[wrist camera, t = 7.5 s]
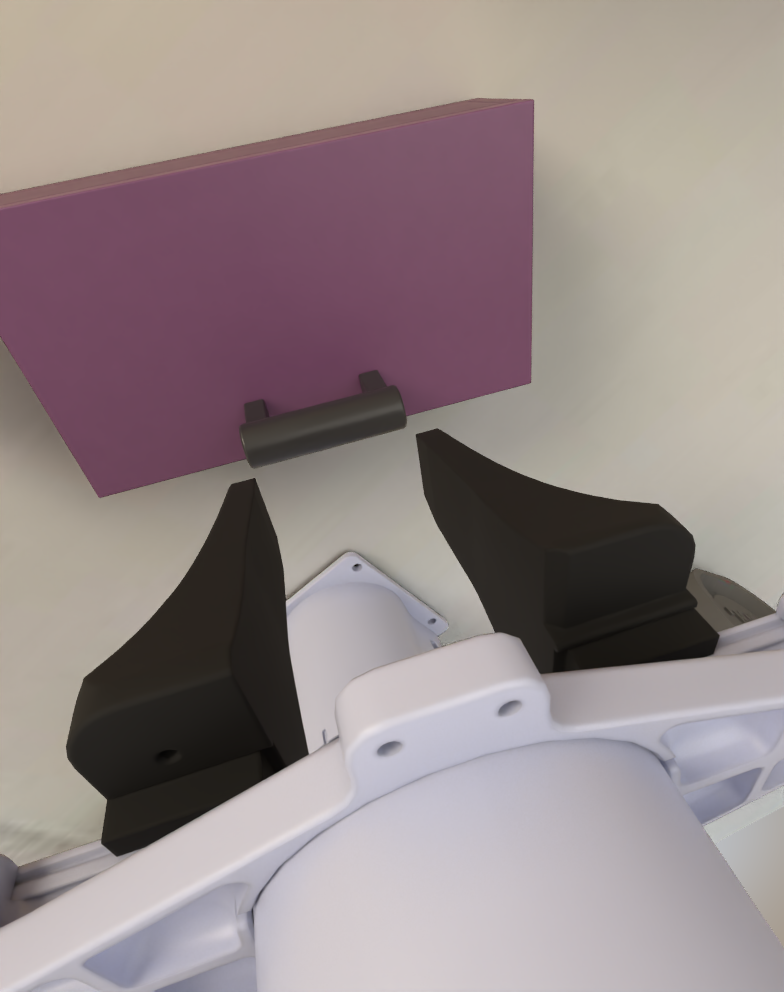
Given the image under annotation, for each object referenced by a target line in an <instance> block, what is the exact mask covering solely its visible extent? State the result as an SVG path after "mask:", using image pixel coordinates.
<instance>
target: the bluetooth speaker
mask: <svg viewBox="0 0 784 992" xmlns="http://www.w3.org/2000/svg"><path fill="white" fill-rule="evenodd" d="M686 589H687V590H688V591H689V592H690V593H691V594H692V595H693V596H694V597H695V598H696V600H697V602H698V604H697V607H696V608H695V609H696V610H697V612H698V613H699V614H700V615H701V616H702V617H703V618H704V619H705V620H706V621H707V622H708V623H709V624H710V625H711V627H712V628H713V629H714V630H715V631H716V632H720V631H723V630H726V629H729V628H732V627H735V626H738V625H741V624H744V623H747V622H750V621H753V620H756V619H759V618H762V617H765V616H768V615H771V614H774V613H776V611H775V610H774V609H772V608H771V607H770V606H769V605H767V604H766V603H765V602H763V601H762V600H761V599H759V598H758V597H757V596H755V595H754V594H752V593H751V592H749V591H748V590H746V589H745V588H743V587H742V586H740V585H739V584H737V583H735V582H734V581H732V580H730V579H728V578H726V577H723V576H720V575H716V574H713V573H710V572H706V571H703V570H700V569H697V568H696V569H694V570H693V571H692V572H690V575H689V579H688V582H687V586H686Z"/></svg>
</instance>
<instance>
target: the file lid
mask: <svg viewBox="0 0 784 992" xmlns="http://www.w3.org/2000/svg"><path fill="white" fill-rule="evenodd" d="M533 151H534V100H533V99H523V100H518V101H513V102H508V103H503V104H498V105H493V106H488V107H483V108H478V109H473V110H469V111H464V112H459V113H454V114H449V115H444V116H439V117H434V118H429V119H424V120H419V121H414V122H410V123H405V124H400V125H395V126H390V127H385V128H380V129H375V130H370V131H365V132H360V133H356V134H351V135H346V136H341V137H336V138H331V139H326V140H321V141H316V142H311V143H306V144H302V145H297V146H292V147H287V148H282V149H277V150H272V151H267V152H262V153H257V154H252V155H248V156H243V157H238V158H233V159H228V160H223V161H218V162H213V163H208V164H203V165H198V166H194V167H189V168H184V169H179V170H174V171H169V172H164V173H159V174H154V175H149V176H144V177H139V178H135V179H130V180H125V181H120V182H115V183H110V184H105V185H100V186H95V187H90V188H85V189H81V190H76V191H71V192H66V193H61V194H56V195H51V196H46V197H41V198H36V199H31V200H27V201H22V202H17V203H12V204H7V205H2V206H0V337H1V338H2V340H3V341H4V343H5V345H6V346H7V348H8V350H9V351H10V353H11V355H12V356H13V358H14V359H15V361H16V363H17V364H18V366H19V368H20V369H21V371H22V373H23V374H24V376H25V377H26V379H27V381H28V382H29V384H30V386H31V387H32V389H33V391H34V392H35V394H36V395H37V397H38V399H39V400H40V402H41V404H42V405H43V407H44V409H45V410H46V412H47V413H48V415H49V417H50V418H51V420H52V422H53V423H54V425H55V427H56V428H57V430H58V431H59V433H60V435H61V436H62V438H63V440H64V441H65V443H66V445H67V446H68V448H69V449H70V451H71V453H72V454H73V456H74V458H75V459H76V461H77V463H78V464H79V466H80V467H81V469H82V471H83V472H84V474H85V476H86V477H87V479H88V481H89V482H90V484H91V485H92V487H93V489H94V490H95V492H96V494H97V495H98V497H99V498H101V497H105V496H109V495H112V494H116V493H120V492H124V491H127V490H131V489H135V488H139V487H142V486H146V485H150V484H154V483H157V482H161V481H165V480H169V479H172V478H176V477H180V476H184V475H187V474H191V473H195V472H199V471H202V470H206V469H210V468H214V467H217V466H221V465H225V464H229V463H232V462H236V461H240V460H244V459H247V461H248V463H249V465H250V466H251V468H258V467H262V466H266V465H270V464H273V463H277V462H281V461H284V460H288V459H292V458H296V457H299V456H303V455H307V454H311V453H314V452H318V451H322V450H325V449H329V448H333V447H337V446H340V445H344V444H348V443H351V442H355V441H359V440H363V439H366V438H370V437H374V436H377V435H381V434H385V433H389V432H392V431H396V430H400V429H403V428H405V427H406V423H407V419H406V416H409V415H412V414H416V413H420V412H424V411H427V410H431V409H435V408H439V407H443V406H446V405H450V404H454V403H458V402H461V401H465V400H469V399H473V398H476V397H480V396H484V395H488V394H491V393H495V392H499V391H503V390H506V389H510V388H514V387H518V386H521V385H525V384H529V383H531V343H532V247H533Z"/></svg>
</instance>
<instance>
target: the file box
mask: <svg viewBox="0 0 784 992" xmlns="http://www.w3.org/2000/svg"><path fill="white" fill-rule="evenodd" d="M518 100H522V99H487V98H475V99H471V100H466V101H461V102H456V103H451V104H446V105H441V106H436V107H431V108H426V109H421V110H416V111H411V112H406V113H401V114H396V115H391V116H386V117H381V118H376V119H371V120H366V121H361V122H356V123H351V124H346V125H341V126H336V127H331V128H326V129H322V130H317V131H312V132H307V133H302V134H297V135H292V136H287V137H282V138H277V139H272V140H267V141H262V142H257V143H252V144H247V145H242V146H237V147H232V148H227V149H222V150H217V151H212V152H207V153H202V154H197V155H192V156H187V157H182V158H177V159H172V160H168V161H163V162H158V163H153V164H148V165H143V166H138V167H133V168H128V169H123V170H118V171H113V172H108V173H103V174H98V175H93V176H88V177H83V178H78V179H73V180H68V181H63V182H58V183H53V184H48V185H43V186H38V187H33V188H28V189H23V190H19V191H14V192H9V193H4V194H0V206H2V205H7V204H12V203H17V202H22V201H27V200H31V199H36V198H41V197H46V196H51V195H56V194H61V193H66V192H71V191H76V190H81V189H85V188H90V187H95V186H100V185H105V184H110V183H115V182H120V181H125V180H130V179H135V178H139V177H144V176H149V175H154V174H159V173H164V172H169V171H174V170H179V169H184V168H189V167H194V166H198V165H203V164H208V163H213V162H218V161H223V160H228V159H233V158H238V157H243V156H248V155H252V154H257V153H262V152H267V151H272V150H277V149H282V148H287V147H292V146H297V145H302V144H306V143H311V142H316V141H321V140H326V139H331V138H336V137H341V136H346V135H351V134H356V133H360V132H365V131H370V130H375V129H380V128H385V127H390V126H395V125H400V124H405V123H410V122H414V121H419V120H424V119H429V118H434V117H439V116H444V115H449V114H454V113H459V112H464V111H469V110H473V109H478V108H483V107H488V106H493V105H498V104H503V103H508V102H513V101H518Z"/></svg>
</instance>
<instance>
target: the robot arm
mask: <svg viewBox="0 0 784 992" xmlns="http://www.w3.org/2000/svg"><path fill="white" fill-rule="evenodd" d="M416 440H417V447H418V454H419V461H420V468H421V475H422V482H423V489H424V495H425V498H426V500H427V502H428V505H429V507H430V510H431V512H432V514H433V517H434V519H435V521H436V524H437V525H438V527H439V529H440V531H441V532H442V534H443V536H444V537H445V539H446V541H447V543H448V544H449V546H450V548H451V549H452V551H453V553H454V554H455V556H456V558H457V559H458V561H459V563H460V564H461V566H462V568H463V569H464V571H465V573H466V574H467V576H468V578H469V579H470V581H471V583H472V584H473V586H474V588H475V590H476V592H477V594H478V596H479V598H480V600H481V602H482V604H483V607H484V609H485V611H486V613H487V615H488V618H489V620H490V622H491V624H492V626H493V629H494V631H495V633H490V634H483V635H477V636H474V637H471V638H467V639H464V640H461V641H458V642H455V643H452V644H449V645H445V646H442V645H441V643H440V641H439V638H438V636H439V635H441V634H442V633H443V632H445V631H446V630H447V628H448V623H447V621H446V619H445V618H443V617H442V616H440V615H439V614H438V613H436V612H435V611H434V610H432V609H431V608H430V607H428V606H427V605H426V604H424V603H423V602H422V601H420V600H419V599H418V598H416V597H415V596H414V595H412V594H411V593H409V592H408V591H407V590H405V589H404V588H403V587H401V586H400V585H399V584H397V583H396V582H395V581H393V580H392V579H391V578H389V577H388V576H387V575H385V574H384V573H383V572H381V571H380V570H378V569H377V568H376V567H374V566H373V565H372V564H370V563H369V562H368V561H366V560H365V559H364V558H362V557H361V556H360V555H358V554H357V553H355V552H347V553H345V554H343V555H342V556H341V557H340V558H338V559H337V560H336V561H335V562H334V563H332V564H331V565H330V566H329V567H327V568H326V569H325V570H324V571H323V572H321V573H320V574H319V575H318V576H316V577H315V578H314V579H313V580H311V581H310V582H309V583H308V584H307V585H305V586H304V587H303V588H302V589H300V590H299V591H298V592H297V593H296V594H294V595H293V596H292V597H291V598H289V599H288V600H287V601H286V598H285V583H284V570H283V564H282V559H281V554H280V549H279V544H278V539H277V536H276V533H275V530H274V528H273V525H272V522H271V520H270V517H269V514H268V512H267V509H266V506H265V504H264V501H263V498H262V496H261V493H260V490H259V488H258V485H257V482H256V479H255V478H253V479H249V480H246V481H242V482H238V483H235V484H231V486H230V487H229V489H228V492H227V494H226V497H225V499H224V502H223V504H222V507H221V509H220V512H219V514H218V516H217V519H216V521H215V523H214V525H213V527H212V529H211V531H210V533H209V535H208V537H207V539H206V541H205V543H204V545H203V547H202V548H201V550H200V552H199V554H198V556H197V557H196V559H195V561H194V563H193V564H192V566H191V567H190V569H189V571H188V572H187V574H186V575H185V577H184V578H183V580H182V581H181V582H180V584H179V585H178V587H177V588H176V589H175V590H174V592H173V593H172V594H171V595H170V596H169V598H168V599H167V600H166V601H165V602H164V604H163V605H162V606H161V607H160V608H159V609H158V611H157V612H156V613H155V614H154V615H153V616H152V617H151V619H150V620H149V621H148V622H147V623H146V624H145V625H144V626H143V627H142V628H141V629H140V630H139V631H138V632H137V633H136V634H135V635H134V636H133V637H132V638H131V639H130V640H128V641H127V642H126V643H125V644H124V645H123V646H122V647H121V648H120V649H119V650H118V651H116V652H115V653H114V654H113V655H112V656H110V657H109V658H108V659H107V660H106V661H104V662H103V663H102V664H101V665H100V666H98V667H97V668H96V669H95V670H94V671H92V672H91V673H90V674H88V675H87V676H86V677H85V678H84V679H83V683H82V686H81V689H80V692H79V694H78V697H77V701H76V705H75V709H74V713H73V717H72V722H71V726H70V731H69V735H68V740H67V745H66V750H67V758H68V760H69V761H70V762H71V764H72V765H73V767H74V768H75V769H76V770H77V771H78V772H79V773H80V774H81V775H82V776H83V777H84V778H85V779H86V780H87V781H88V782H89V783H90V784H91V785H92V786H94V787H95V788H96V789H97V790H98V791H99V792H100V793H101V794H102V795H103V796H104V797H105V798H106V799H107V805H106V812H105V819H104V826H103V832H102V839H100V840H97V841H94V842H91V843H88V844H85V845H82V846H79V847H76V848H73V849H70V850H67V851H64V852H61V853H58V854H55V855H52V856H49V857H46V858H43V859H40V860H37V861H34V862H31V863H28V864H25V865H22V866H19V867H18V866H17V865H16V864H15V863H14V862H13V861H12V860H11V859H9V858H8V857H6V856H5V855H2V854H0V992H784V947H783V946H782V944H781V943H780V941H779V940H778V938H777V937H776V935H775V934H774V932H773V931H772V929H771V928H770V926H769V925H768V923H767V922H766V920H765V919H764V917H763V916H762V914H761V913H760V911H759V910H758V908H757V907H756V905H755V904H754V902H753V901H752V899H751V898H750V896H749V895H748V893H747V892H746V890H745V889H744V887H743V886H742V884H741V883H740V881H739V880H738V878H737V877H736V875H735V874H734V872H733V871H732V869H731V868H730V866H729V865H728V863H727V862H726V860H725V859H724V857H723V856H722V854H721V853H720V851H719V850H718V848H717V847H716V845H715V844H714V842H713V841H712V839H711V838H710V836H709V835H708V833H707V832H706V830H705V829H704V827H703V826H705V825H707V824H709V823H711V822H713V821H715V820H717V819H719V818H721V817H723V816H725V815H727V814H729V813H731V812H733V811H735V810H737V809H739V808H741V807H743V806H745V805H747V804H749V803H751V802H753V801H755V800H757V799H758V798H760V797H762V796H764V795H766V794H768V793H770V792H772V791H774V790H776V789H778V788H780V787H782V786H784V593H783V594H782V596H781V597H780V599H779V602H778V605H777V609H776V613H774V614H771V615H768V616H765V617H762V618H759V619H756V620H753V621H750V622H747V623H744V624H741V625H738V626H735V627H732V628H729V629H726V630H723V631H720V632H716V631H715V630H714V629H713V628H712V627H711V625H710V624H709V623H708V622H707V621H706V620H705V619H704V618H703V617H702V616H701V615H700V614H699V613H698V612H697V610H696V609H695V608H696V607H697V604H698V602H697V600H696V598H695V597H694V596H693V595H692V594H691V593H690V592H689V591H688V590H687V589H686V586H687V582H688V579H689V575H690V571H691V567H692V563H693V560H694V554H695V542H694V539H693V536H692V535H691V534H690V532H689V531H688V530H687V529H686V528H685V527H684V526H683V525H681V524H680V523H679V522H678V521H677V520H676V519H675V518H674V517H673V516H672V515H671V514H670V513H668V512H667V511H666V510H665V509H664V508H662V507H661V506H660V505H659V504H651V503H641V502H631V501H621V500H614V499H609V498H603V497H597V496H592V495H587V494H583V493H578V492H574V491H571V490H567V489H563V488H559V487H556V486H553V485H549V484H546V483H543V482H541V481H538V480H535V479H532V478H530V477H527V476H524V475H522V474H520V473H517V472H515V471H513V470H511V469H508V468H506V467H504V466H502V465H500V464H498V463H496V462H494V461H492V460H490V459H488V458H486V457H485V456H483V455H481V454H479V453H477V452H476V451H474V450H472V449H470V448H469V447H467V446H465V445H464V444H462V443H460V442H459V441H457V440H456V439H454V438H452V437H451V436H449V435H448V434H446V433H444V432H443V431H441V430H439V429H434V430H430V431H426V432H423V433H419V434H416ZM356 564H359V565H358V566H355V567H354V565H356Z"/></svg>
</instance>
